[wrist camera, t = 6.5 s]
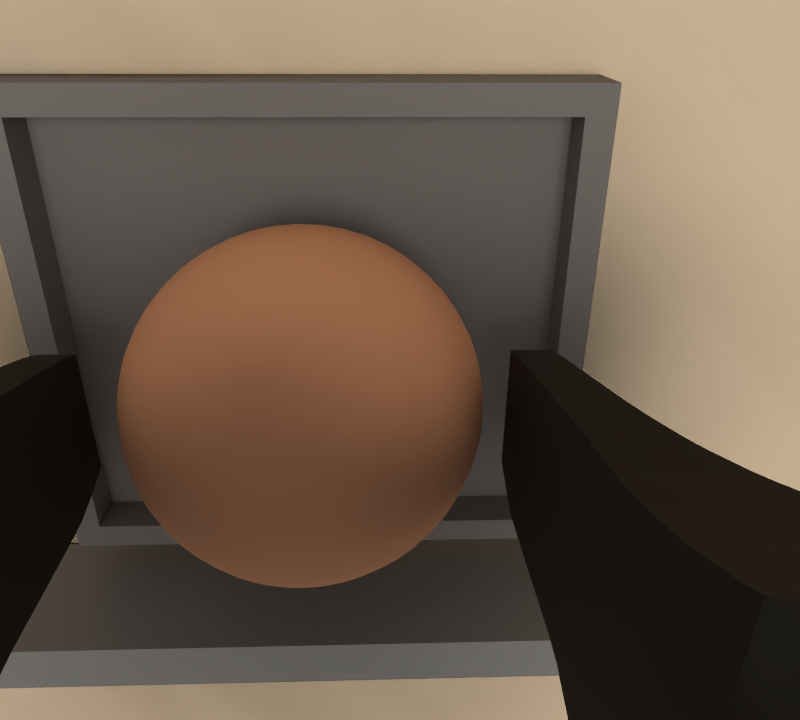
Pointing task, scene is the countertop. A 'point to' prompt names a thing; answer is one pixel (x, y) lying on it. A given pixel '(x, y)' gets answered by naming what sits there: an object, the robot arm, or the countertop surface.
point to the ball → (299, 405)
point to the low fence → (281, 621)
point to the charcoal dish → (303, 218)
